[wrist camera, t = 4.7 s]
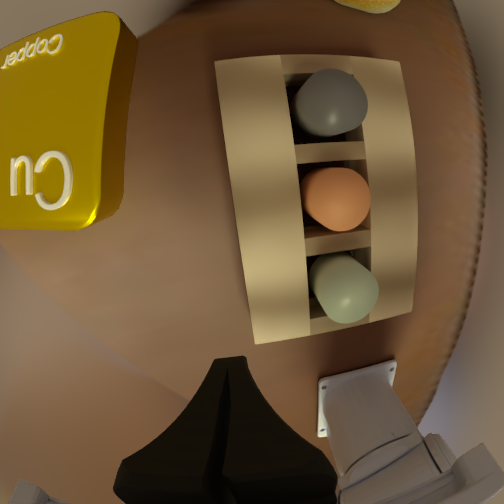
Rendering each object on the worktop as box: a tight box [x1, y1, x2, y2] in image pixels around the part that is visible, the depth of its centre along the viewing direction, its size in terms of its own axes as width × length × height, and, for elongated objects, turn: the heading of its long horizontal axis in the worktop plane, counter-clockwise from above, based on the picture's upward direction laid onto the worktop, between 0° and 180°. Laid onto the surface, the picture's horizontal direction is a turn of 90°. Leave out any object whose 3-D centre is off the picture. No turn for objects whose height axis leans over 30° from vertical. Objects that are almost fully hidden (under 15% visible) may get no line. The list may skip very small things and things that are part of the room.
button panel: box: [214, 54, 418, 344], centre depth 18 cm, size 18×12×3 cm, turn 8°
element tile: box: [0, 11, 138, 231], centre depth 14 cm, size 15×15×5 cm
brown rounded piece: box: [299, 167, 371, 231], centre depth 17 cm, size 4×4×4 cm
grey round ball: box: [291, 69, 368, 138], centre depth 14 cm, size 4×4×4 cm
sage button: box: [309, 251, 379, 324], centre depth 17 cm, size 4×4×4 cm
